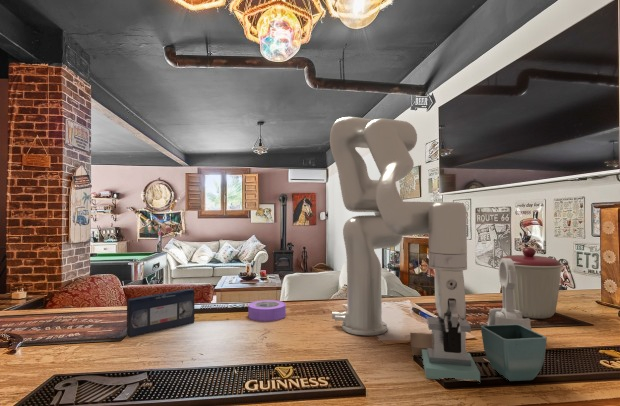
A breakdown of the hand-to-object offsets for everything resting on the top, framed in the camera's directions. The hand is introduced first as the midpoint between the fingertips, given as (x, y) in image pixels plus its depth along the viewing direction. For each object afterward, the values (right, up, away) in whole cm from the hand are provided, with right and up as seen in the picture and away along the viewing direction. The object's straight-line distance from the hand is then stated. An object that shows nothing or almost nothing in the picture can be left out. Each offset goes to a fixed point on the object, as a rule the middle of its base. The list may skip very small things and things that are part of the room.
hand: (448, 343), depth 78 cm
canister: (+40, -6, +39) cm, 57 cm away
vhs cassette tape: (-71, -7, +28) cm, 76 cm away
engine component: (+22, -6, +19) cm, 30 cm away
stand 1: (0, -6, +11) cm, 12 cm away
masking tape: (-43, -7, +40) cm, 59 cm away
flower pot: (+12, -6, -3) cm, 13 cm away
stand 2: (0, -6, 0) cm, 6 cm away
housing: (0, -4, 0) cm, 4 cm away
